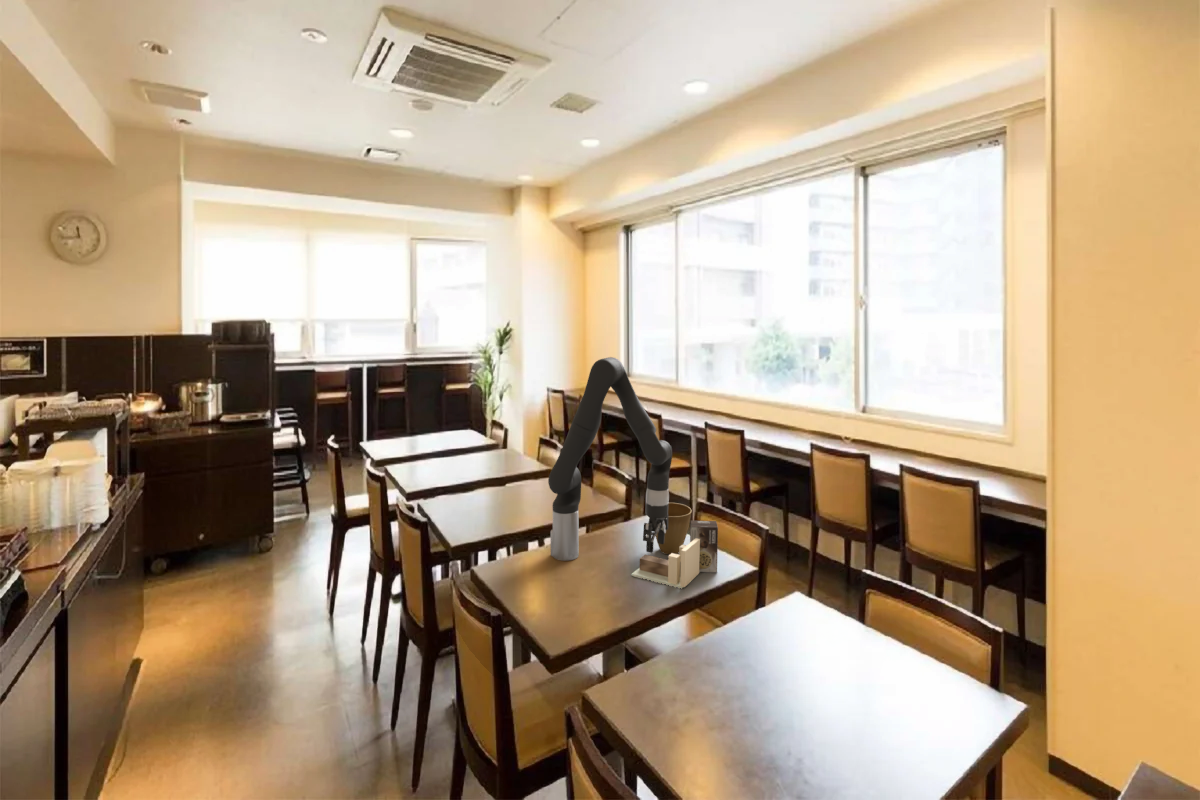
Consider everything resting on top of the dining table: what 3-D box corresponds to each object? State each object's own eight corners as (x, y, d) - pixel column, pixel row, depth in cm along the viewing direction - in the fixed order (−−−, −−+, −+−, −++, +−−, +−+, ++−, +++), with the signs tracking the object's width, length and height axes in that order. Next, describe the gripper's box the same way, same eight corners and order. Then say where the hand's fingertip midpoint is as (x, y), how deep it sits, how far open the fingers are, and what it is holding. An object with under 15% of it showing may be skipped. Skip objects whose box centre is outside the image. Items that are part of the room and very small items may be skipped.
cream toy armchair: (631, 575, 199) (632, 539, 197) (648, 563, 209) (648, 528, 207) (684, 589, 189) (685, 551, 187) (698, 575, 199) (700, 538, 197)
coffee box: (715, 565, 207) (717, 520, 205) (717, 573, 201) (718, 527, 199) (689, 564, 208) (690, 519, 206) (689, 572, 202) (691, 526, 200)
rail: (639, 569, 202) (639, 557, 201) (645, 565, 205) (645, 553, 204) (677, 579, 194) (677, 566, 194) (682, 574, 198) (682, 562, 197)
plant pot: (644, 545, 225) (645, 504, 223) (681, 541, 229) (682, 501, 226) (657, 560, 211) (658, 517, 208) (697, 557, 214) (698, 514, 212)
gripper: (656, 493, 205) (654, 538, 208) (637, 504, 193) (635, 552, 196) (676, 497, 201) (674, 543, 204) (658, 509, 189) (656, 557, 192)
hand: (655, 547), depth 200 cm, fingers open, 8 cm apart
